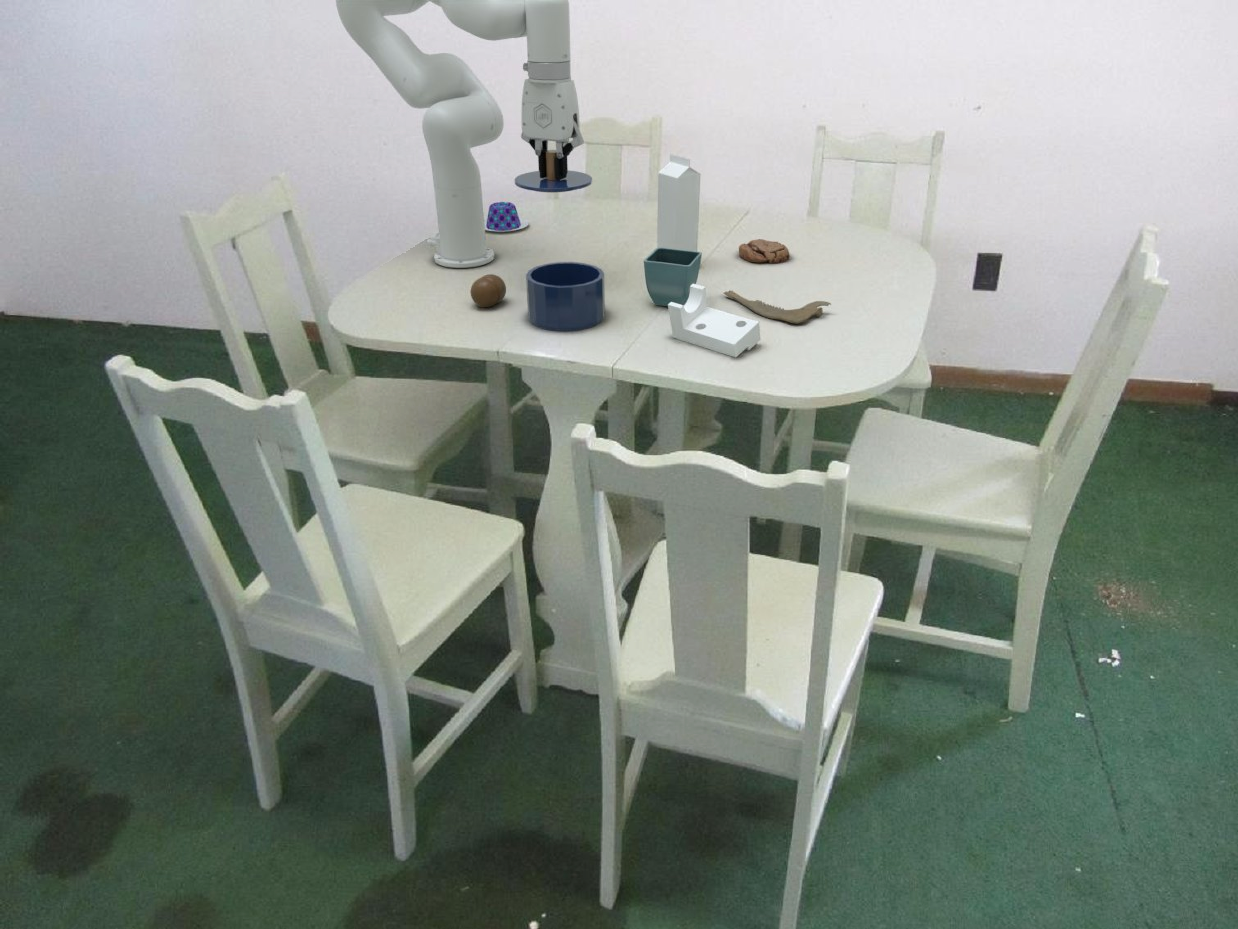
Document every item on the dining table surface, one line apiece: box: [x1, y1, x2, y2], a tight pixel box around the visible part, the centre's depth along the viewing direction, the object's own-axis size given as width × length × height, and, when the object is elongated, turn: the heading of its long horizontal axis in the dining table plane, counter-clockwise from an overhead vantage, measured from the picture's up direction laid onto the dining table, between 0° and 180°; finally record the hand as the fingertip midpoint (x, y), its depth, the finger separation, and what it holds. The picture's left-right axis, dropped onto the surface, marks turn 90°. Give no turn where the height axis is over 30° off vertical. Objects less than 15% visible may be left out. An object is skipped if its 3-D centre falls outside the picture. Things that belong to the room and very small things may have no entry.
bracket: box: [667, 283, 762, 358], centre depth 151 cm, size 13×7×8 cm, turn 49°
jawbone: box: [723, 290, 832, 324], centre depth 165 cm, size 9×20×2 cm, turn 63°
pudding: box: [484, 201, 530, 233], centre depth 211 cm, size 12×12×5 cm
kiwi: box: [470, 273, 507, 308], centre depth 168 cm, size 8×5×5 cm
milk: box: [656, 153, 701, 252], centre depth 182 cm, size 6×6×22 cm
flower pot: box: [643, 247, 703, 307], centre depth 167 cm, size 9×9×9 cm
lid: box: [514, 149, 593, 193], centre depth 169 cm, size 15×15×6 cm
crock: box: [525, 261, 606, 332], centre depth 161 cm, size 14×14×8 cm
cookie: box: [738, 238, 790, 264], centre depth 192 cm, size 10×11×3 cm
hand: (553, 176), depth 170 cm, fingers closed on lid, 2 cm apart
